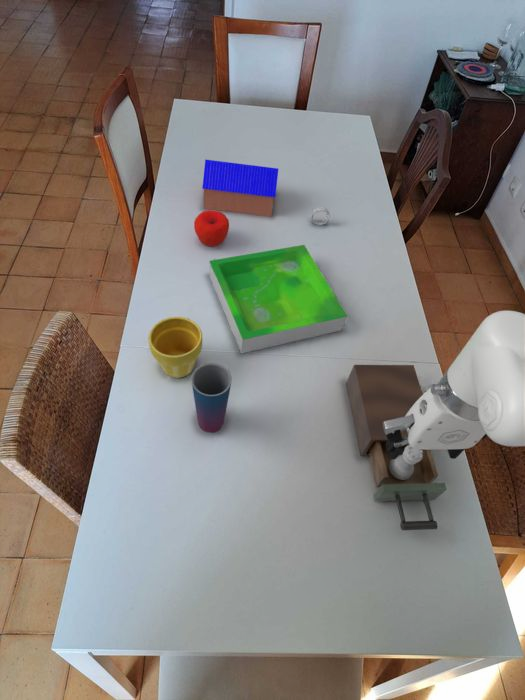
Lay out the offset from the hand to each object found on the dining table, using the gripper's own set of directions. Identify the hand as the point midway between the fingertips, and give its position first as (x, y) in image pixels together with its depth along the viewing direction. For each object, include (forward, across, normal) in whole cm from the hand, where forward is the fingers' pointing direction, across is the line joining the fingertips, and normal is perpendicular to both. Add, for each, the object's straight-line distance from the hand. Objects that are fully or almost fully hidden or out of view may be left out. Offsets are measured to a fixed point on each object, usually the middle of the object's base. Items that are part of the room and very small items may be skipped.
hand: (420, 450), depth 72 cm
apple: (+15, -34, +67) cm, 77 cm away
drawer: (+15, +2, +2) cm, 15 cm away
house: (+15, -26, +86) cm, 91 cm away
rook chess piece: (+14, +2, +3) cm, 15 cm away
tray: (+15, -18, +46) cm, 52 cm away
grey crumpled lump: (+15, -3, +77) cm, 79 cm away
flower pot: (+16, -40, +27) cm, 51 cm away
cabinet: (+16, +2, +15) cm, 22 cm away
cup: (+16, -33, +14) cm, 39 cm away
